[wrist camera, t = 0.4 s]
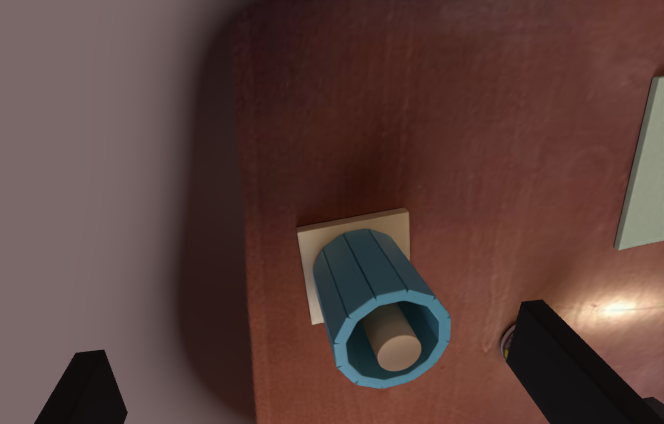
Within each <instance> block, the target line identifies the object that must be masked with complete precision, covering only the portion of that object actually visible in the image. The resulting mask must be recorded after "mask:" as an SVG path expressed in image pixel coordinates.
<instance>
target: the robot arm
mask: <svg viewBox="0 0 664 424" xmlns="http://www.w3.org/2000/svg"><path fill="white" fill-rule="evenodd" d="M506 362H507V364H508V365H509V367H510V368H511V369H512V371H513V372H514V374H515V375H516V377H517V378H518V379H519V381H520V382H521V384H522V385H523V386H524V388H525V389H526V391H527V392H528V393H529V395H530V396H531V398H532V399H533V400H534V402H535V403H536V405H537V406H538V408H539V409H540V410H541V412H542V413H543V415H544V416H545V417H546V419H547V420H548V422H549V423H550V424H664V404H663V403H661V402H660V401H658V400H657V399H655V398H654V397H649V398H643V399H642V398H641V397H640V396H639V395H638V394H637V393H636V392H635V391H634V390H633V389H632V388H631V387H630V386H629V385H628V384H627V383H626V382H625V381H624V380H623V379H622V378H621V377H620V376H619V375H618V374H617V373H616V372H615V371H614V370H613V369H612V368H611V367H610V366H609V365H608V364H607V363H606V362H605V361H604V360H603V359H602V358H601V357H600V356H599V355H598V354H597V353H596V352H595V351H594V350H593V349H592V348H591V347H590V346H589V345H588V344H587V343H586V342H585V341H584V340H583V339H582V338H581V337H580V336H579V335H578V334H577V333H576V332H575V331H574V330H573V329H572V328H571V327H570V326H569V325H568V324H567V323H566V322H565V321H564V320H563V319H562V318H561V317H560V316H559V315H558V314H557V313H556V312H555V311H554V310H553V309H552V308H550V307H549V306H548V305H547V304H546V303H545V302H544V301H543V300H534V301H525V302H521V306H520V310H519V314H518V317H517V321H516V325H515V329H514V332H513V336H512V340H511V344H510V347H509V351H508V355H507V359H506ZM127 413H128V412H127V410H126V407H125V404H124V402H123V399H122V396H121V394H120V391H119V388H118V385H117V383H116V380H115V378H114V375H113V372H112V369H111V367H110V364H109V361H108V359H107V356H106V353H105V350H97V351H87V352H79V353H75V355H74V357H73V358H72V360H71V362H70V364H69V365H68V367H67V369H66V370H65V372H64V374H63V376H62V377H61V379H60V381H59V382H58V384H57V386H56V387H55V389H54V391H53V392H52V394H51V396H50V397H49V399H48V401H47V403H46V404H45V406H44V408H43V410H42V411H41V413H40V414H39V416H38V418H37V419H36V421H35V423H34V424H124V421H125V419H126V416H127Z"/></svg>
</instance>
